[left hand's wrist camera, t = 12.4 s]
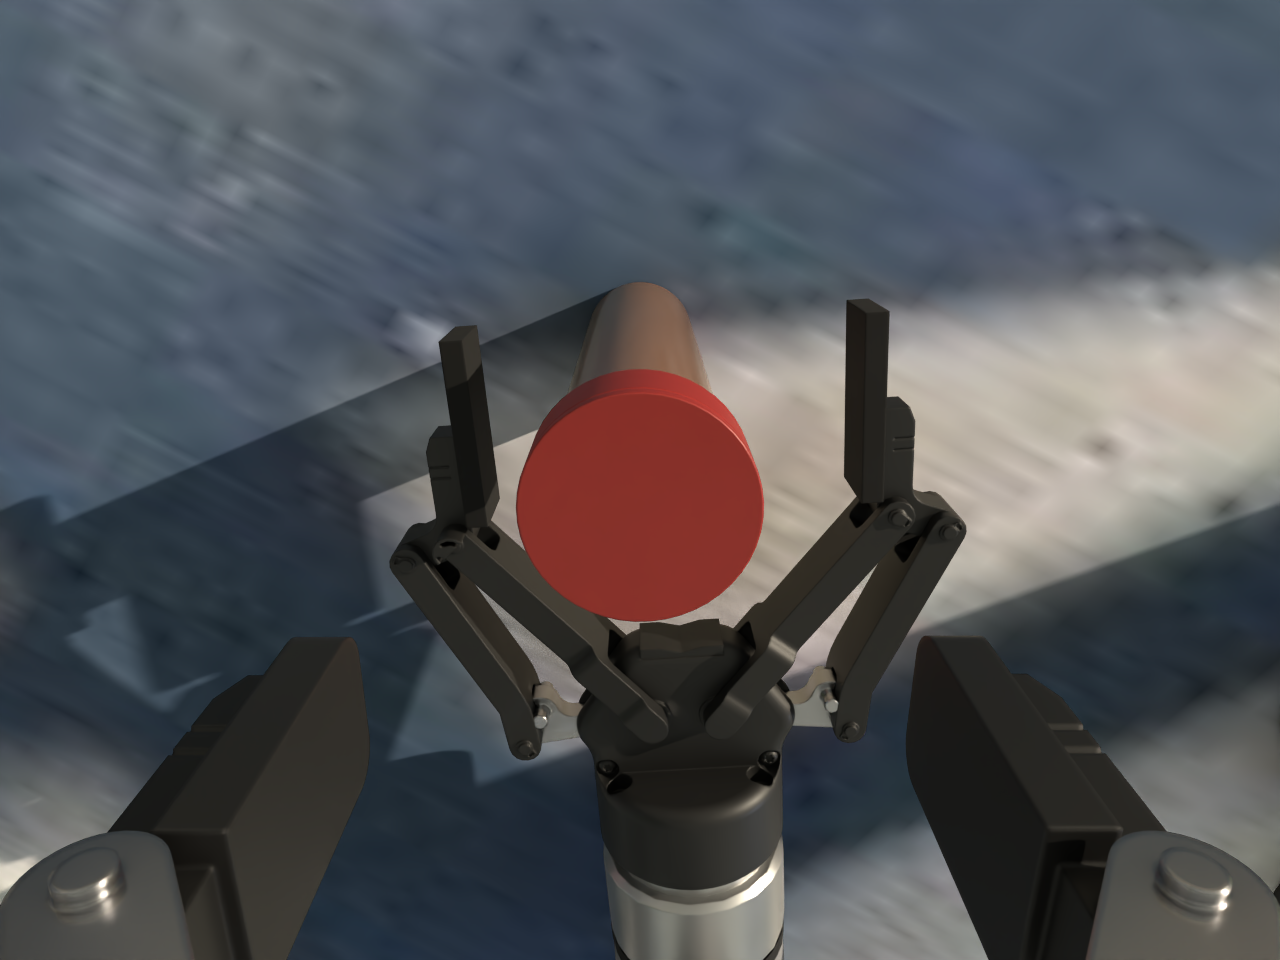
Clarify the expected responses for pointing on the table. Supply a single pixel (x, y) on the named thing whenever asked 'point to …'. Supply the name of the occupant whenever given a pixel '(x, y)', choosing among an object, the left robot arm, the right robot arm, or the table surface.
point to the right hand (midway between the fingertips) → (661, 317)
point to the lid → (640, 497)
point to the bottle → (639, 336)
